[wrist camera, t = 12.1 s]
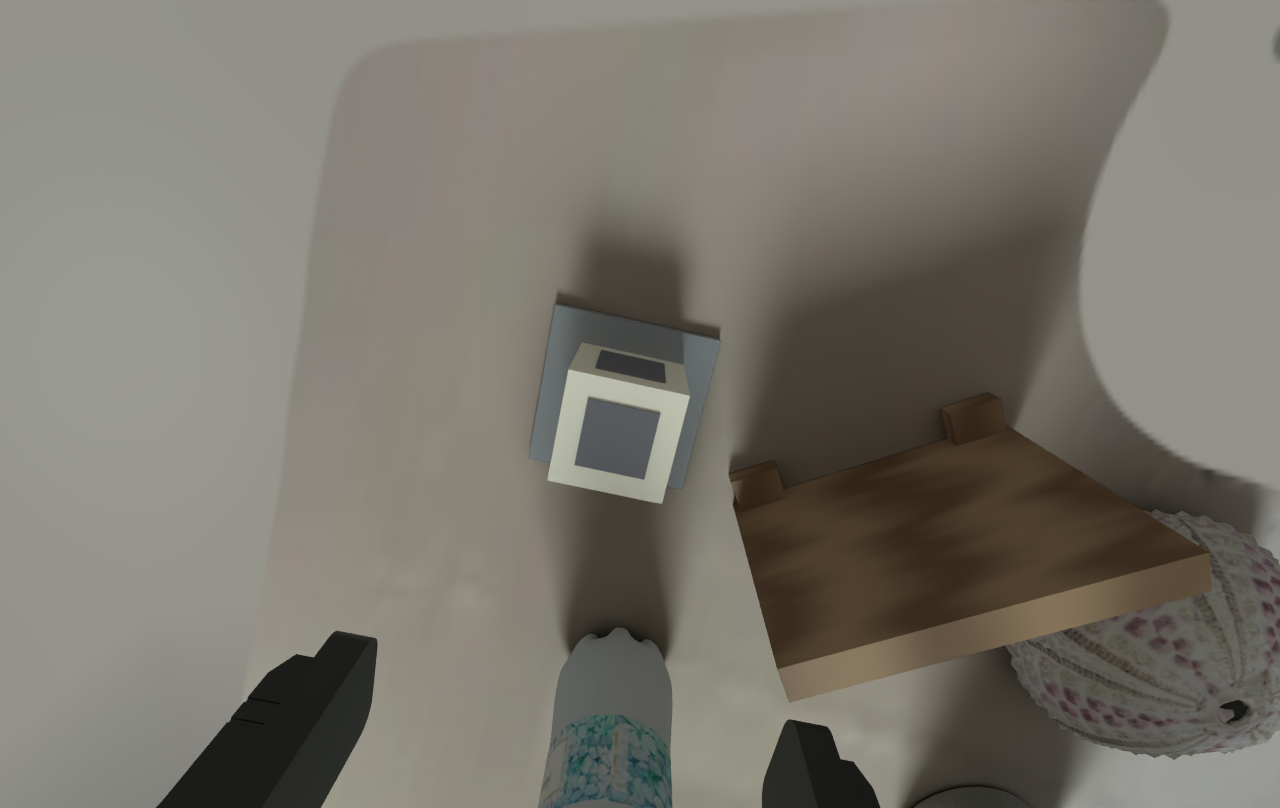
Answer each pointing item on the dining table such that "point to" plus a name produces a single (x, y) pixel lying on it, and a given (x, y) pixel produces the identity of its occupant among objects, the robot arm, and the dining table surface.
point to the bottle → (610, 727)
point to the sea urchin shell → (1172, 659)
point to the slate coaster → (628, 337)
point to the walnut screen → (946, 554)
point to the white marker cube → (619, 423)
